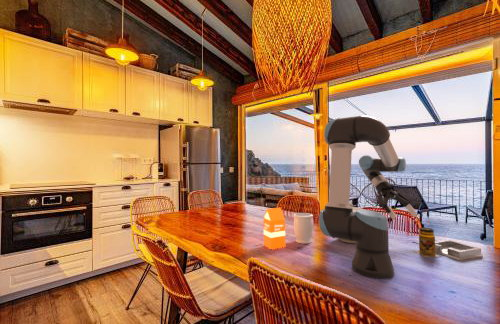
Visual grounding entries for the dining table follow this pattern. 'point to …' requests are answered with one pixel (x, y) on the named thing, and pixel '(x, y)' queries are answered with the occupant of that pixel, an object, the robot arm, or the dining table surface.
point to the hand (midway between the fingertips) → (405, 216)
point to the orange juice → (274, 228)
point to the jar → (303, 227)
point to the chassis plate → (457, 250)
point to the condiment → (427, 243)
